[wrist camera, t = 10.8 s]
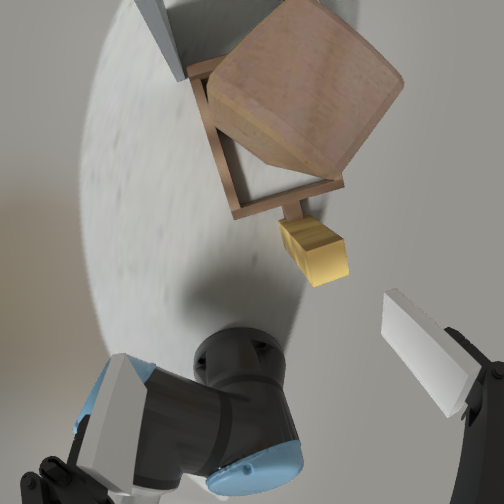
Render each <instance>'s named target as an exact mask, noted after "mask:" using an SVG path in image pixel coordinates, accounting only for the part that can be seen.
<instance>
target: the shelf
mask: <svg viewBox="0 0 504 504" xmlns="http://www.w3.org/2000/svg"><path fill="white" fill-rule="evenodd" d="M134 1H135V3H136V5H137V6H138V8H139V10H140V12H141V14H142V16H143V18H144V20H145V22H146V23H147V25H148V27H149V29H150V31H151V33H152V35H153V37H154V39H155V40H156V42H157V44H158V46H159V48H160V50H161V52H162V54H163V56H164V58H165V60H166V61H167V63H168V65H169V67H170V69H171V71H172V73H173V75H174V77H175V79H176V81H177V82H179V81H182V80H185V76H184V72H183V69H182V65H181V62H180V58H179V55H178V51H177V47H176V44H175V40H174V37H173V33H172V30H171V26H170V22H169V19H168V15H167V12H166V8H165V5H164V2H163V0H134ZM317 1H318V2H320V1H319V0H317Z"/></svg>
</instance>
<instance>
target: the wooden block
mask: <svg viewBox="0 0 504 504" xmlns="http://www.w3.org/2000/svg"><path fill="white" fill-rule="evenodd" d="M403 86H404V81H403V79H402V77H401V75H400V74H399V73H398V71H397V70H396V69H395V68H394V67H393V66H392V65H391V64H390V63H389V62H388V61H387V60H386V59H385V58H384V57H383V56H382V55H381V54H380V53H379V52H378V51H377V50H376V49H375V48H374V47H373V46H372V45H371V44H370V43H369V42H367V40H365V39H364V38H363V37H362V36H361V35H360V34H359V33H358V32H356V31H355V30H354V29H353V28H352V27H351V26H349V25H348V24H347V23H346V22H345V21H343V20H342V19H341V18H340V17H338V16H337V15H336V14H334V13H333V12H332V11H331V10H329V9H328V8H327V7H325V6H324V5H322V4H321V3H320V2H318V1H317V0H285V1H284V2H283V3H281V4H280V5H279V6H278V7H277V8H276V9H274V10H273V11H272V12H271V13H270V14H269V15H268V16H267V17H266V18H264V19H263V20H262V21H261V22H260V23H259V24H258V25H257V26H256V27H255V28H254V29H253V30H252V31H251V32H250V33H249V34H248V35H247V36H246V37H245V38H244V39H243V40H242V41H241V42H240V43H239V44H238V45H237V46H236V47H235V48H234V49H233V50H232V51H231V52H230V53H229V54H228V55H227V56H226V57H225V59H224V60H223V61H222V62H221V63H220V64H219V65H218V66H217V67H216V69H215V70H214V71H213V72H212V73H211V74H210V77H209V80H208V83H207V95H208V104H209V113H210V120H211V122H212V124H213V125H214V126H215V127H216V128H217V129H219V130H220V131H222V132H223V133H224V134H226V135H227V136H229V137H230V138H232V139H233V140H234V141H236V142H237V143H239V144H240V145H241V146H243V147H244V148H245V149H247V150H248V151H250V152H251V153H252V154H254V155H255V156H256V157H258V158H259V159H260V160H262V161H263V162H264V163H266V164H268V165H271V166H276V167H280V168H284V169H289V170H293V171H297V172H301V173H305V174H309V175H313V176H317V177H320V178H324V179H328V180H332V179H333V178H335V177H337V176H338V175H340V174H341V173H342V171H343V170H344V169H345V167H346V166H347V165H348V163H349V162H350V161H351V159H352V158H353V157H354V155H355V154H356V152H357V151H358V150H359V148H360V147H361V146H362V144H363V143H364V142H365V140H366V139H367V138H368V136H369V135H370V133H371V132H372V131H373V129H374V128H375V127H376V125H377V124H378V123H379V121H380V120H381V118H382V117H383V116H384V114H385V113H386V112H387V110H388V109H389V107H390V106H391V105H392V103H393V102H394V100H395V99H396V98H397V96H398V95H399V93H400V92H401V91H402V89H403Z"/></svg>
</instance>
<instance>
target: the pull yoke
mask: <svg viewBox="0 0 504 504" xmlns="http://www.w3.org/2000/svg"><path fill="white" fill-rule="evenodd" d="M226 56H227V55H224V56H220V57H216V58H213V59H209V60H205V61H202V62H198V63H195V64H192V65H189V66H186V70H187V73H188V76H189V79H190V82H191V86H192V89H193V92H194V95H195V98H196V102H197V105H198V108H199V111H200V115H201V118H202V121H203V124H204V127H205V130H206V134H207V137H208V140H209V143H210V146H211V150H212V153H213V156H214V159H215V162H216V165H217V168H218V172H219V175H220V178H221V181H222V184H223V187H224V190H225V194H226V197H227V200H228V203H229V206H230V209H231V212H232V215H233V219H234V220H237V219H240V218H243V217H247V216H250V215H253V214H256V213H259V212H262V211H266V210H269V209H272V208H275V207H279V206H282V209H283V213H284V216H285V219H284V220H280V221H278V223H279V226H280V230H281V234H282V238H283V241H284V245H285V248H286V250H287V251H288V253H289V254H290V255H291V257H292V258H293V259H294V261H295V262H296V264H297V265H298V266H299V268H300V269H301V271H302V272H303V273H304V275H305V276H306V278H307V279H308V280H309V282H310V283H311V285H312V286H313V287H317V286H320V285H322V284H325V283H328V282H331V281H333V280H336V279H339V278H342V277H344V276H347V275H349V270H348V263H347V256H346V250H345V243H344V239H343V238H342V237H340V236H339V235H337V234H336V233H335V232H333V231H332V230H330V229H329V228H328V227H326V226H325V225H323V224H322V223H320V222H319V221H318V220H316V219H315V218H313V217H312V216H310V215H309V214H307V213H303V214H302V209H301V205H300V201H299V200H302V199H305V198H309V197H312V196H316V195H319V194H322V193H326V192H329V191H333V190H336V189H340V188H343V187H344V182H343V177H342V173H341V174H340V175H338V176H337V177H335V178H333V179H332V180H328V179H327V180H323V181H320V182H316V183H313V184H309V185H305V186H302V187H298V188H295V189H292V190H288V191H285V192H281V193H278V194H275V195H271V196H268V197H265V198H261V199H258V200H255V201H252V202H248V203H245V204H242V205H239V202H238V198H237V195H236V192H235V189H234V185H233V182H232V179H231V176H230V173H229V169H228V166H227V163H226V160H225V157H224V153H223V150H222V147H221V144H220V141H219V137H218V134H217V131H216V128H215V126H214V125H213V124H212V122H211V120H210V113H209V105H208V102H207V99H206V96H205V93H204V90H203V86H202V83H201V82H204V81H208V80H209V77H210V74H211V73H212V72H213V71H214V70H215V69H216V67H217V66H218V65H219V64H220V63H221V62H222V61H223V60H224V59H225V57H226Z"/></svg>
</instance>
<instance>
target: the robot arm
mask: <svg viewBox="0 0 504 504" xmlns="http://www.w3.org/2000/svg"><path fill="white" fill-rule="evenodd" d="M381 335H382V336H383V337H384V338H385V340H386V341H387V342H388V343H389V344H390V346H391V347H392V348H393V349H394V350H395V352H396V353H397V354H398V355H399V356H400V358H401V359H402V360H403V361H404V363H405V364H406V365H407V366H408V368H409V369H410V370H411V371H412V373H413V374H414V375H415V376H416V378H417V379H418V380H419V381H420V382H421V384H422V385H423V387H424V388H425V389H426V390H427V392H428V393H429V394H430V396H431V397H432V398H433V400H434V401H435V402H436V403H437V405H438V406H439V407H440V409H441V410H442V411H443V413H444V414H445V415H446V417H447V418H449V417H450V416H452V415H453V414H455V413H456V412H457V411H459V410H460V409H461V407H462V405H463V404H464V402H466V403H467V404H468V407H467V408H466V410H465V412H464V414H463V415H462V418H461V420H463V419H464V417H465V416H466V421H465V430H464V438H463V445H462V452H461V457H460V463H459V468H458V473H457V477H456V481H455V486H454V490H453V494H452V497H451V501H450V504H504V362H500V361H496V362H491V361H490V360H489V359H488V358H487V357H485V356H484V354H482V353H481V352H480V351H479V350H478V349H477V348H476V347H475V346H474V345H473V344H471V343H470V341H469V340H467V339H465V337H464V336H463V335H462V334H461V333H460V332H459V331H457V330H455V329H452V328H450V327H447V328H445V329H442V328H441V327H440V326H439V325H438V324H437V323H436V322H434V321H433V320H432V319H431V318H430V317H429V316H428V315H427V314H426V313H424V312H423V311H422V310H421V309H420V308H419V307H418V306H416V305H415V304H414V303H413V302H412V301H411V300H409V299H408V298H407V297H406V296H405V295H404V294H402V293H401V292H400V291H399V290H398V289H397V288H395V289H392V290H389V291H386V292H384V302H383V317H382V330H381ZM285 367H286V363H285V357H284V354H283V352H282V349H281V347H280V345H279V343H278V342H277V341H276V340H275V339H274V338H273V337H271V336H270V335H268V334H266V333H264V332H262V331H259V330H255V329H250V328H234V329H228V330H224V331H221V332H218V333H216V334H214V335H212V336H210V337H209V338H207V339H206V340H205V341H204V342H203V343H202V344H201V345H200V346H199V348H198V349H197V351H196V353H195V356H194V369H193V370H194V376H195V379H196V382H195V381H192V380H190V379H187V378H184V377H182V376H179V375H177V374H174V373H172V372H169V371H167V370H164V369H162V368H160V367H157V366H156V364H154V363H148V362H145V361H143V360H140V359H138V358H135V357H133V356H130V355H128V354H126V353H120V354H114V355H112V357H111V358H110V359H109V360H108V362H107V363H106V365H105V367H104V369H103V370H102V372H101V374H100V376H99V377H98V379H97V381H96V383H95V385H94V387H93V388H92V390H91V392H90V394H89V396H88V398H87V400H86V402H85V404H84V406H83V408H82V410H81V412H80V414H79V416H78V418H77V421H76V423H75V425H74V427H73V432H74V433H75V437H74V439H75V440H74V441H73V444H72V447H71V450H70V454H69V457H68V460H67V464H65V463H64V462H63V461H62V460H60V459H59V458H58V457H56V456H50V457H47V458H45V459H44V460H43V461H42V463H41V464H40V468H39V473H40V475H41V476H42V477H40V476H39V475H37V474H36V473H34V472H27V473H25V474H24V475H23V476H22V478H21V483H20V487H21V496H22V504H158V503H159V500H160V497H161V495H163V494H166V493H169V492H172V491H175V490H176V489H177V488H178V486H179V483H180V480H181V477H182V474H183V473H188V474H193V475H197V476H203V477H206V478H207V480H206V485H207V486H208V489H209V490H210V491H211V492H213V493H215V494H217V495H222V496H244V495H251V494H257V493H261V492H265V491H268V490H271V489H274V488H276V487H279V486H281V485H283V484H286V483H287V482H289V481H290V480H292V479H294V478H295V477H296V476H297V475H298V474H299V473H300V471H301V470H302V468H303V466H304V460H303V456H302V451H301V442H300V440H299V437H298V434H297V431H296V428H295V425H294V422H293V419H292V416H291V413H290V410H289V407H288V404H287V401H286V398H285V395H284V392H283V383H284V376H285Z"/></svg>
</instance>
